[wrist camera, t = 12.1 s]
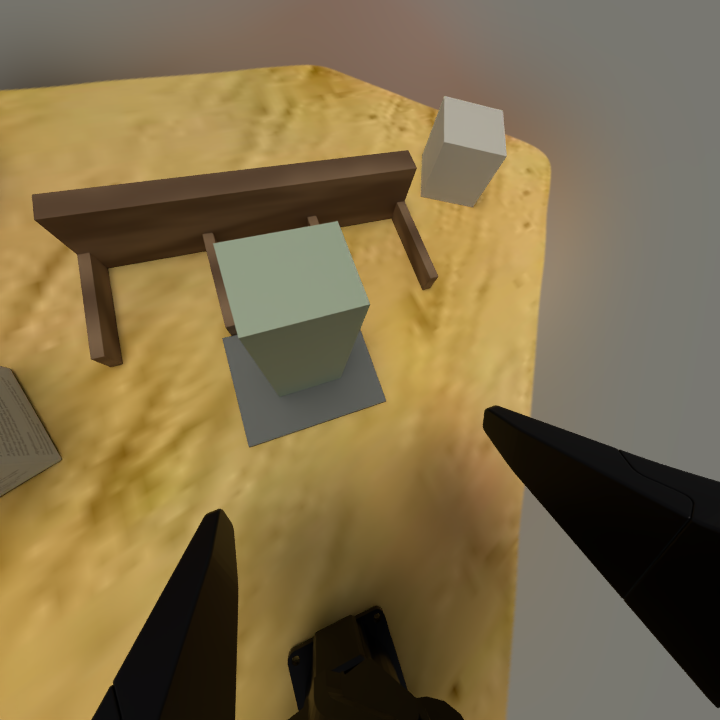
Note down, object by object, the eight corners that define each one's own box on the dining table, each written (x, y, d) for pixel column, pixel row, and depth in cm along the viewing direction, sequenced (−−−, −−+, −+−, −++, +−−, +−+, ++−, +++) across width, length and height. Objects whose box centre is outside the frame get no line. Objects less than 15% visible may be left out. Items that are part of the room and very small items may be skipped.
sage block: (340, 378, 24) (369, 304, 11) (279, 397, 22) (238, 338, 10) (325, 334, 24) (337, 220, 12) (265, 350, 23) (213, 243, 11)
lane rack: (429, 288, 28) (456, 251, 23) (110, 366, 22) (45, 341, 16) (391, 201, 30) (408, 150, 25) (93, 249, 24) (31, 194, 19)
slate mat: (385, 401, 24) (386, 400, 24) (250, 447, 21) (248, 447, 21) (351, 308, 26) (351, 306, 26) (223, 340, 23) (222, 338, 23)
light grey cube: (420, 197, 31) (443, 141, 25) (421, 156, 33) (443, 95, 27) (472, 207, 32) (506, 156, 26) (471, 167, 34) (502, 110, 28)
